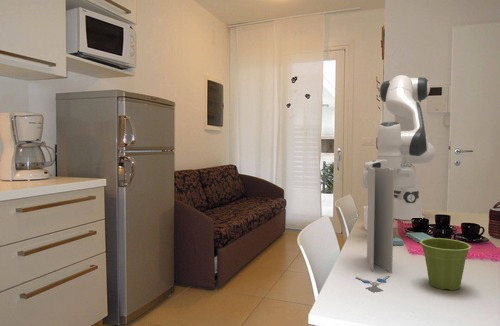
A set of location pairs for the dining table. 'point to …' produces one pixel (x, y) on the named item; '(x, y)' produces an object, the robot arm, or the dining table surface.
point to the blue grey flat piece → (374, 286)
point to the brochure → (380, 217)
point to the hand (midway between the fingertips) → (388, 199)
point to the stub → (396, 238)
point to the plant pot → (445, 261)
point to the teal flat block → (418, 236)
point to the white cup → (366, 216)
